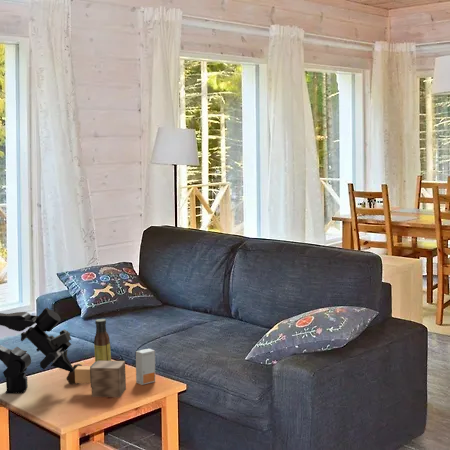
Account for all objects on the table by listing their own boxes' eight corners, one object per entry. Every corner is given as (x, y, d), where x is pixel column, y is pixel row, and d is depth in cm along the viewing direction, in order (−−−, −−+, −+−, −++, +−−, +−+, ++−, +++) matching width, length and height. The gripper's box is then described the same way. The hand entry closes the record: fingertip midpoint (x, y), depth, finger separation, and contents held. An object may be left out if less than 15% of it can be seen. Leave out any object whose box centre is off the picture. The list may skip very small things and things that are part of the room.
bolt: (81, 376, 285) (76, 388, 270) (69, 371, 284) (64, 381, 270) (88, 363, 285) (84, 374, 270) (76, 357, 284) (71, 368, 269)
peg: (75, 383, 258) (74, 369, 258) (78, 379, 262) (78, 365, 262) (101, 383, 257) (101, 369, 257) (104, 379, 261) (104, 366, 261)
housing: (90, 396, 256) (89, 367, 255) (97, 388, 265) (96, 360, 264) (119, 397, 255) (119, 368, 254) (125, 388, 264) (125, 360, 263)
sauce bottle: (106, 365, 292) (104, 317, 290) (114, 369, 288) (113, 319, 286) (91, 369, 288) (90, 319, 286) (99, 372, 284) (98, 322, 281)
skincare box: (142, 385, 267) (141, 353, 266) (135, 382, 270) (135, 351, 269) (156, 382, 271) (155, 350, 270) (149, 379, 274) (148, 348, 273)
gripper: (47, 331, 250) (80, 363, 250) (64, 318, 268) (95, 348, 268) (26, 353, 251) (58, 385, 251) (44, 339, 270) (75, 369, 270)
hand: (73, 371), depth 260 cm, fingers closed
